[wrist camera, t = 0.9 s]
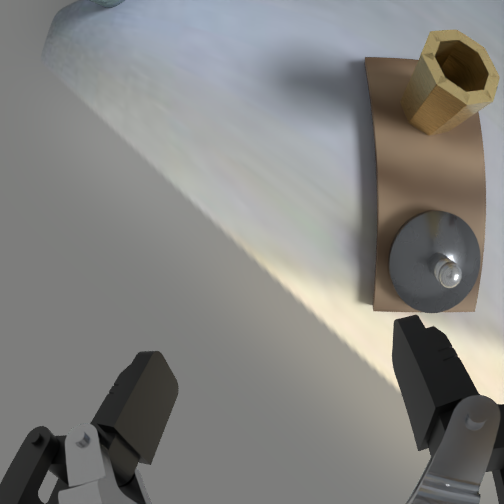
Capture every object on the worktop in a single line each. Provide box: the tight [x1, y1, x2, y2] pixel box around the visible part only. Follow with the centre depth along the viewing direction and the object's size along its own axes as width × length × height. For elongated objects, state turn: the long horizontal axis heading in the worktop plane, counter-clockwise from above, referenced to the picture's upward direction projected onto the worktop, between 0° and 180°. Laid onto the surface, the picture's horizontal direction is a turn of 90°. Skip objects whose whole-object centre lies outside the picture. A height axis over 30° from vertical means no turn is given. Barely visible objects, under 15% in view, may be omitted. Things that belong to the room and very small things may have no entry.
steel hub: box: [388, 210, 481, 313], centre depth 20 cm, size 9×9×6 cm
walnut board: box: [365, 57, 486, 312], centre depth 20 cm, size 24×11×5 cm, turn 2°
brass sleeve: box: [400, 30, 499, 136], centre depth 15 cm, size 5×5×10 cm
